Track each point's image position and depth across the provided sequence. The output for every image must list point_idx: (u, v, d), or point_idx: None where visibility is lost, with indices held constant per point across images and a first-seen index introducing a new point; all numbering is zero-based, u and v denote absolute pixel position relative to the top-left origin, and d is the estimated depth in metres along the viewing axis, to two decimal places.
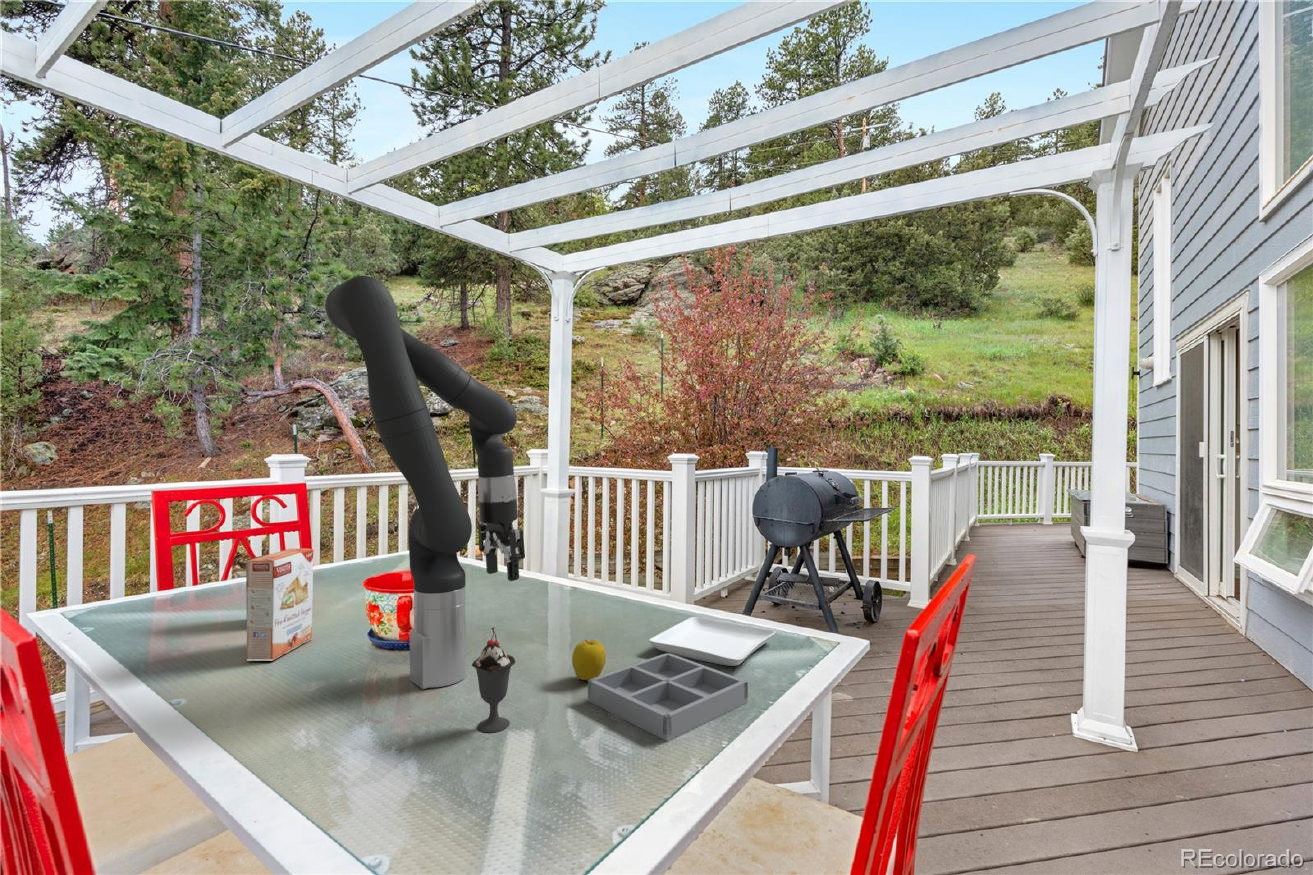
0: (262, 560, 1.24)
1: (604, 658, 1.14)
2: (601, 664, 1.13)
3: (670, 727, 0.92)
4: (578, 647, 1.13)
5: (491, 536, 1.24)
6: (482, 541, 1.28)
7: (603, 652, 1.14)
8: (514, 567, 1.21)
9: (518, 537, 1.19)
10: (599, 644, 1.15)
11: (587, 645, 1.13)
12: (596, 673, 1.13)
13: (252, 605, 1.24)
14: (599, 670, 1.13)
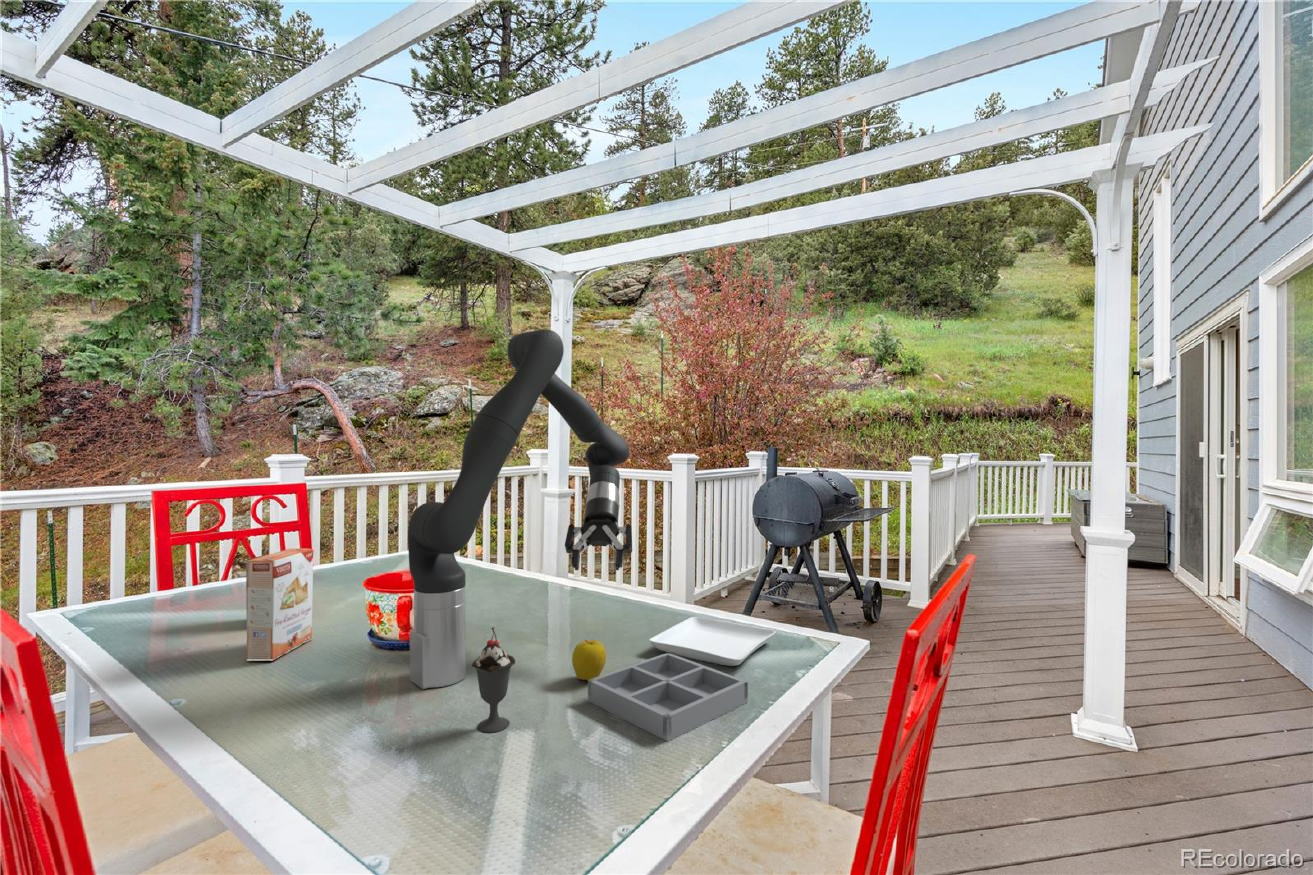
0: (262, 560, 1.24)
1: (604, 658, 1.14)
2: (601, 664, 1.13)
3: (670, 727, 0.92)
4: (578, 647, 1.13)
5: (594, 530, 1.31)
6: (571, 538, 1.31)
7: (603, 652, 1.14)
8: None
9: (631, 533, 1.33)
10: (599, 644, 1.15)
11: (587, 645, 1.13)
12: (596, 673, 1.13)
13: (252, 605, 1.24)
14: (599, 670, 1.13)
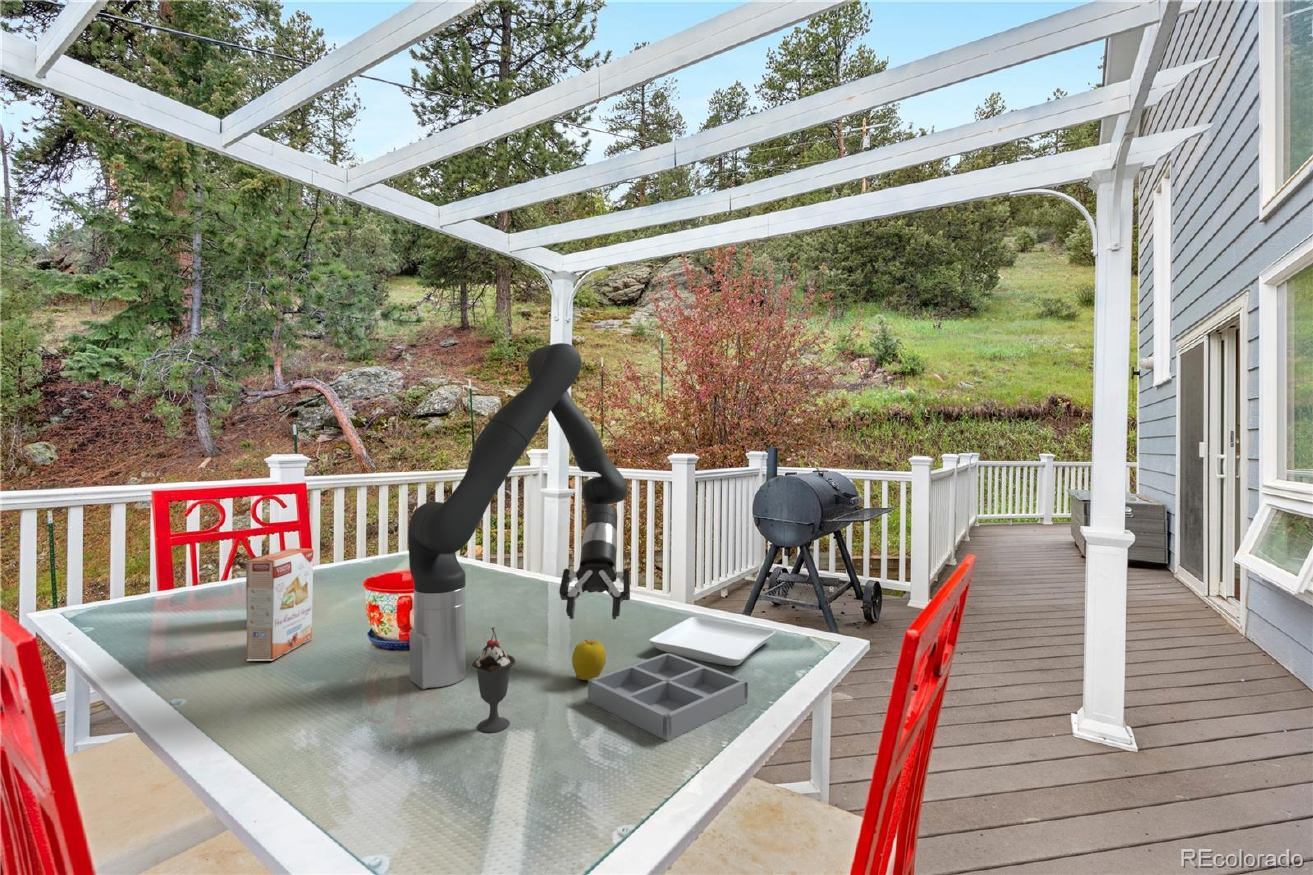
0: (262, 560, 1.24)
1: (604, 658, 1.14)
2: (601, 665, 1.13)
3: (670, 727, 0.92)
4: (578, 647, 1.13)
5: (591, 576, 1.25)
6: (566, 584, 1.25)
7: (603, 652, 1.14)
8: None
9: (629, 578, 1.27)
10: (599, 644, 1.15)
11: (587, 645, 1.13)
12: (596, 673, 1.13)
13: (252, 605, 1.24)
14: (599, 670, 1.13)
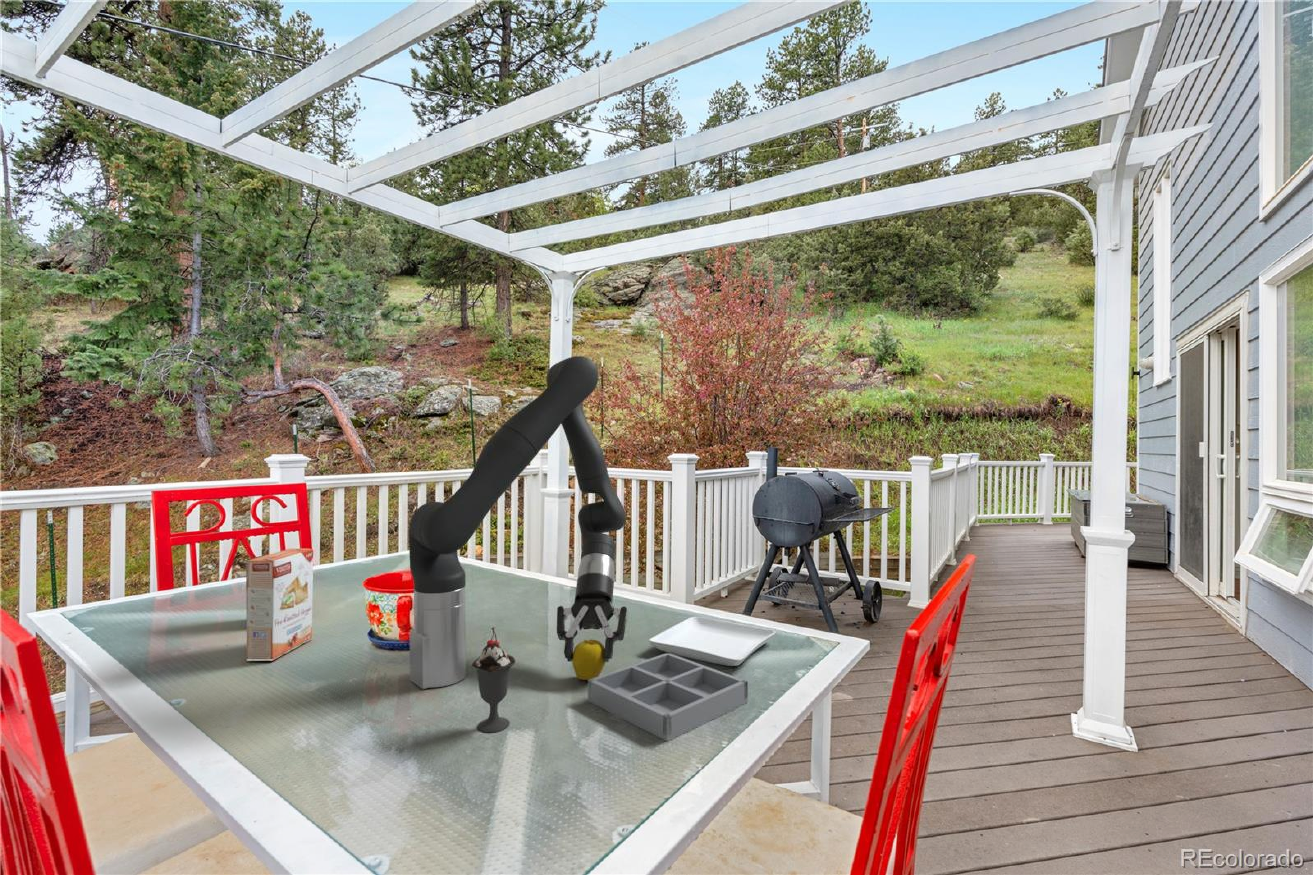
0: (262, 560, 1.24)
1: None
2: (601, 664, 1.13)
3: (670, 727, 0.92)
4: (578, 647, 1.13)
5: (587, 611, 1.18)
6: (563, 623, 1.17)
7: (603, 652, 1.14)
8: None
9: (626, 617, 1.19)
10: (599, 644, 1.15)
11: (587, 645, 1.13)
12: (596, 673, 1.13)
13: (252, 605, 1.24)
14: (599, 670, 1.13)
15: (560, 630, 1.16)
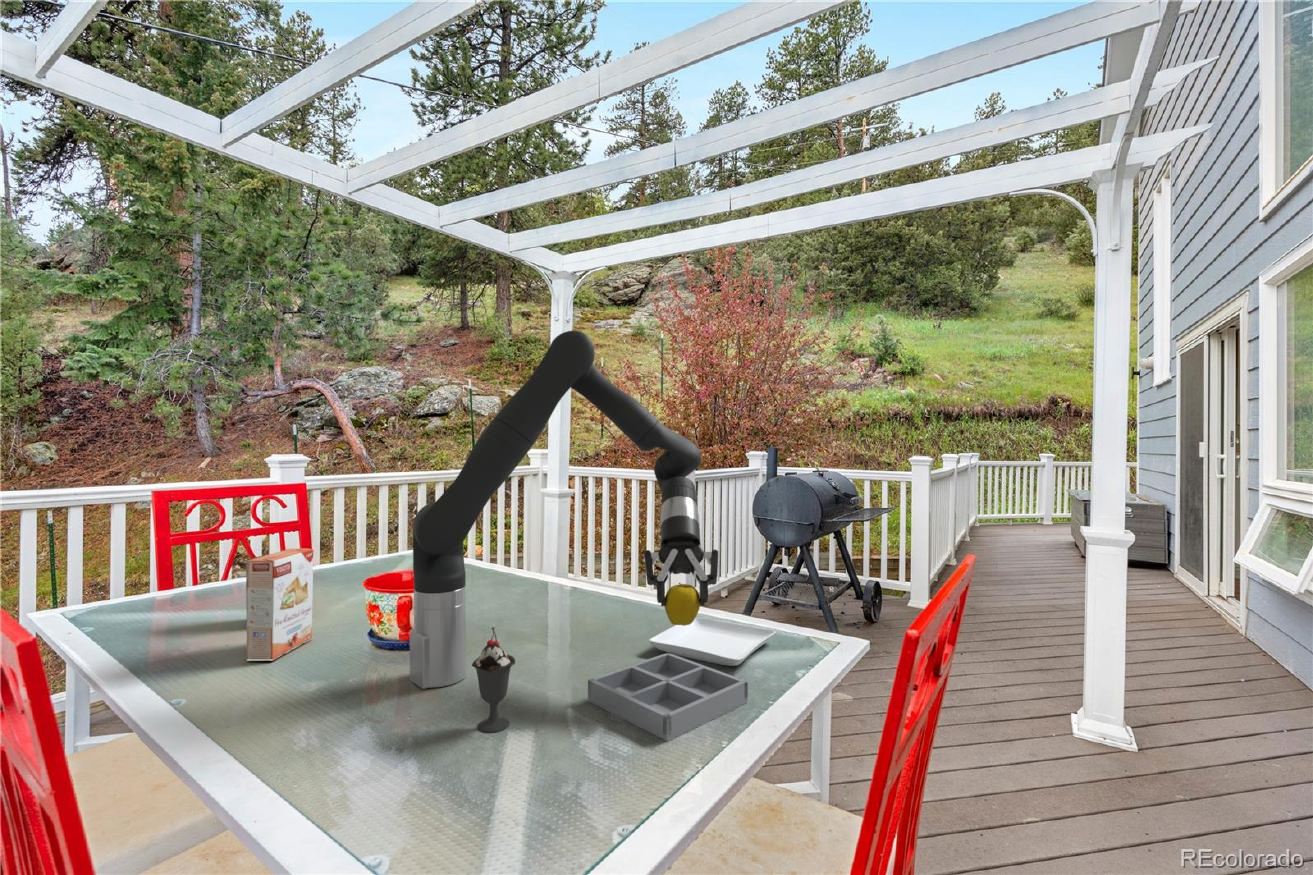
0: (262, 560, 1.24)
1: (699, 602, 1.07)
2: (697, 608, 1.06)
3: (670, 727, 0.92)
4: (672, 590, 1.06)
5: (676, 555, 1.11)
6: (652, 567, 1.10)
7: (698, 595, 1.07)
8: None
9: None
10: (693, 588, 1.08)
11: (682, 588, 1.06)
12: (692, 617, 1.06)
13: (252, 605, 1.24)
14: (695, 614, 1.06)
15: (650, 574, 1.09)
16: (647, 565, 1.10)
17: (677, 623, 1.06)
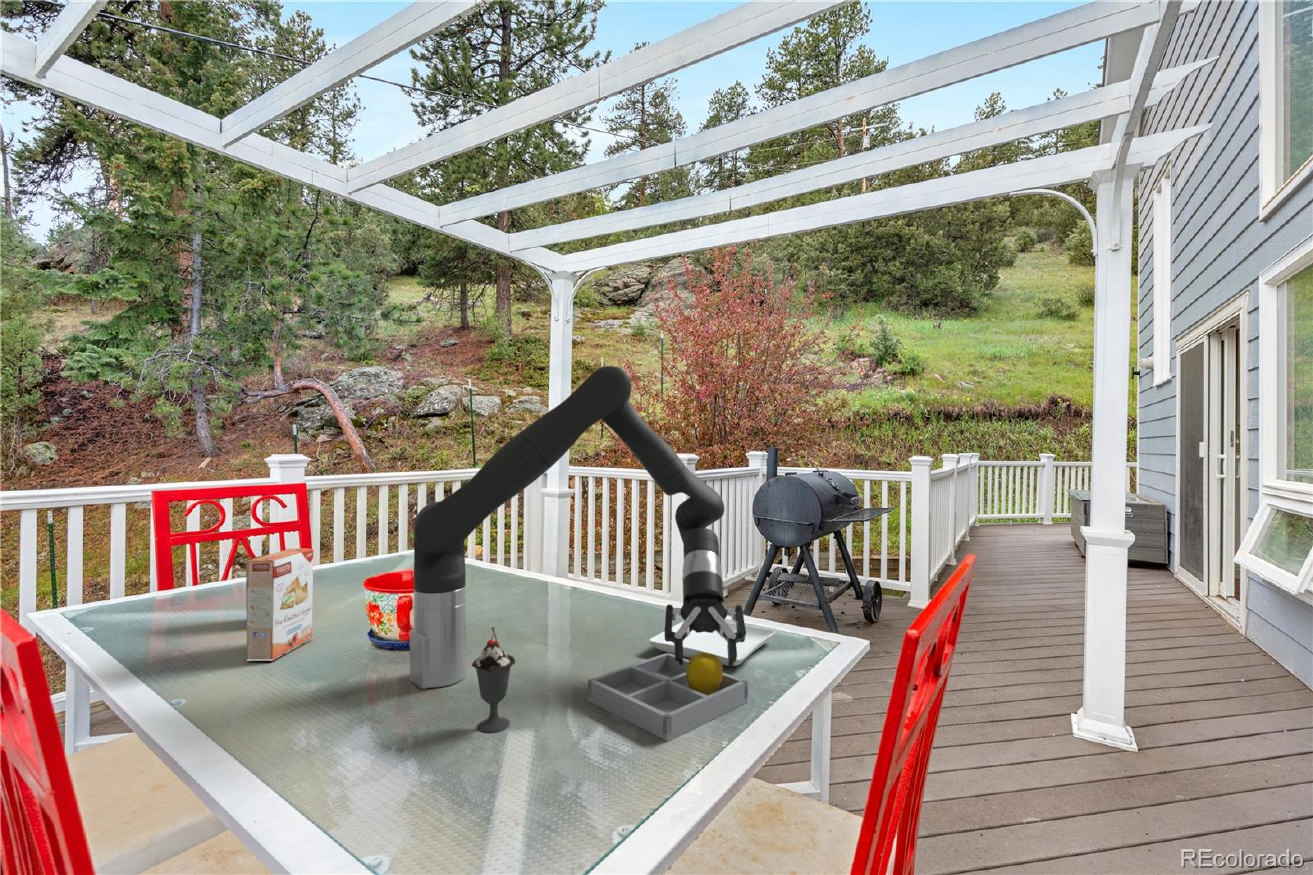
0: (262, 560, 1.24)
1: (722, 673, 1.04)
2: (720, 680, 1.04)
3: (670, 727, 0.92)
4: (694, 661, 1.04)
5: (699, 613, 1.09)
6: (671, 623, 1.08)
7: (721, 666, 1.05)
8: None
9: None
10: (716, 658, 1.05)
11: (704, 658, 1.04)
12: (714, 689, 1.03)
13: (252, 605, 1.24)
14: (717, 686, 1.04)
15: (668, 631, 1.07)
16: (667, 620, 1.08)
17: None
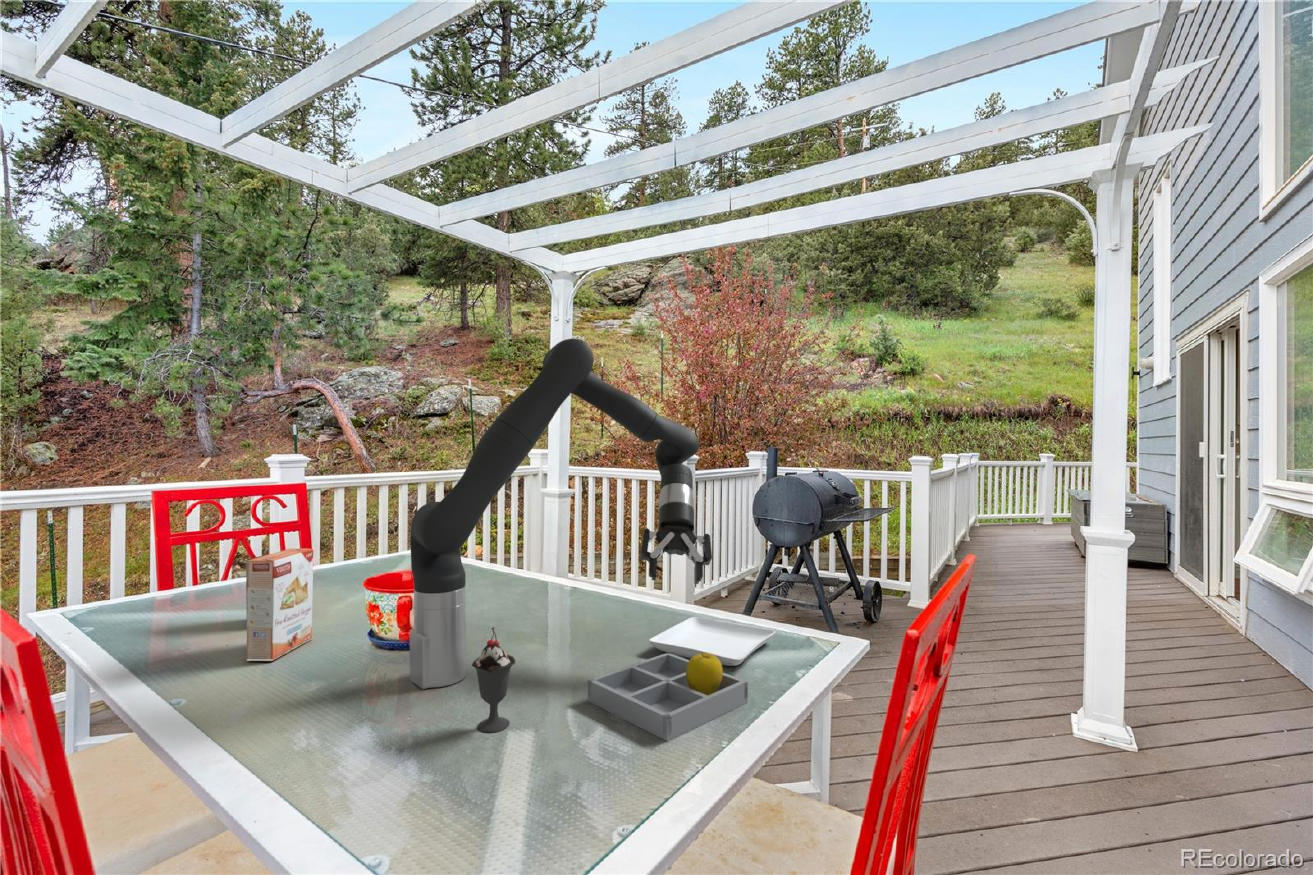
0: (262, 560, 1.24)
1: (722, 673, 1.04)
2: (720, 680, 1.04)
3: (670, 727, 0.92)
4: (694, 661, 1.04)
5: (672, 538, 1.23)
6: None
7: (720, 666, 1.04)
8: None
9: None
10: (716, 658, 1.05)
11: (704, 659, 1.04)
12: (714, 689, 1.03)
13: (252, 605, 1.24)
14: (717, 686, 1.04)
15: (645, 551, 1.21)
16: (644, 542, 1.22)
17: None
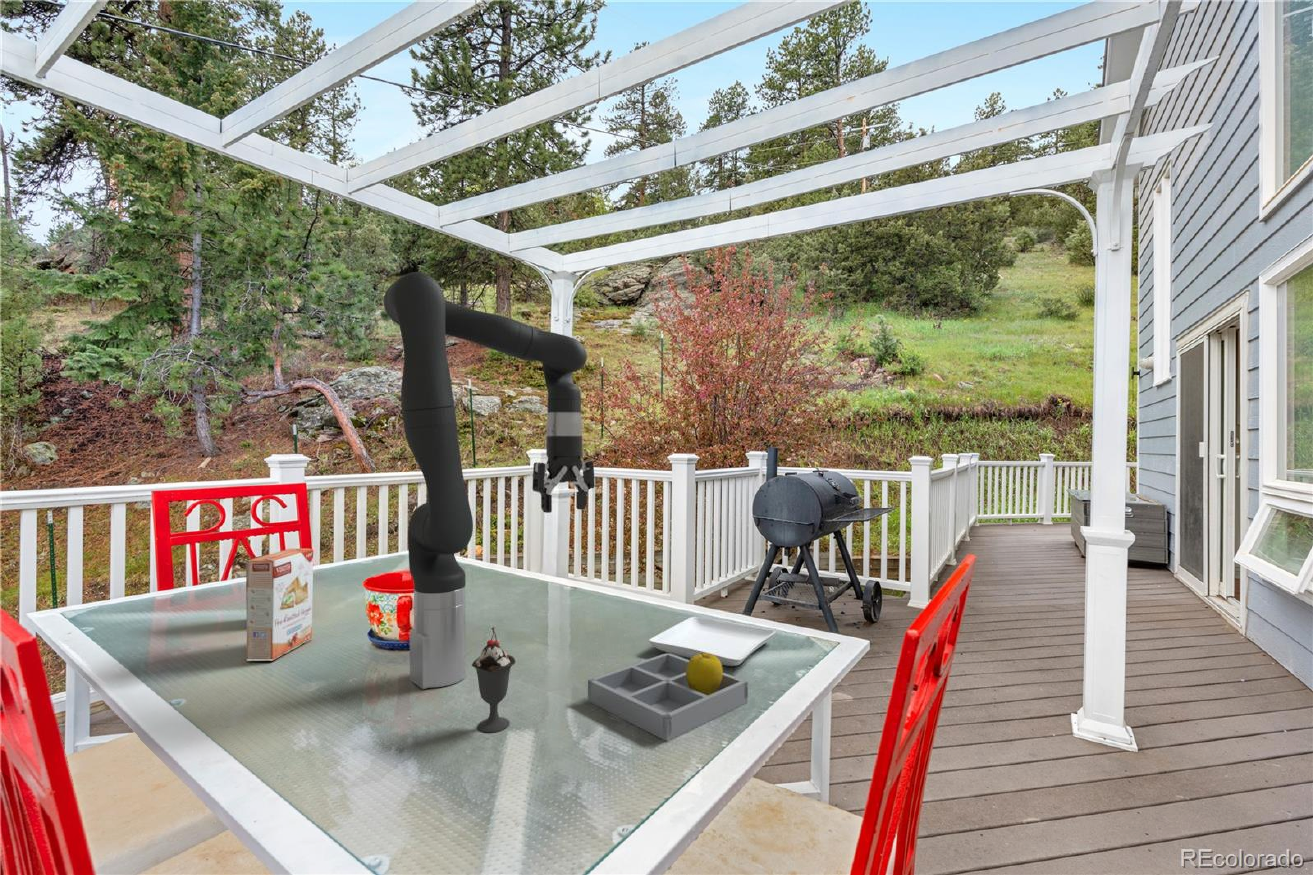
0: (262, 560, 1.24)
1: (722, 673, 1.04)
2: (720, 680, 1.04)
3: (670, 727, 0.92)
4: (694, 661, 1.04)
5: None
6: None
7: (721, 667, 1.04)
8: None
9: None
10: (716, 658, 1.05)
11: (704, 659, 1.04)
12: (714, 689, 1.03)
13: (252, 605, 1.24)
14: (717, 686, 1.04)
15: (542, 488, 1.24)
16: (540, 478, 1.23)
17: None
